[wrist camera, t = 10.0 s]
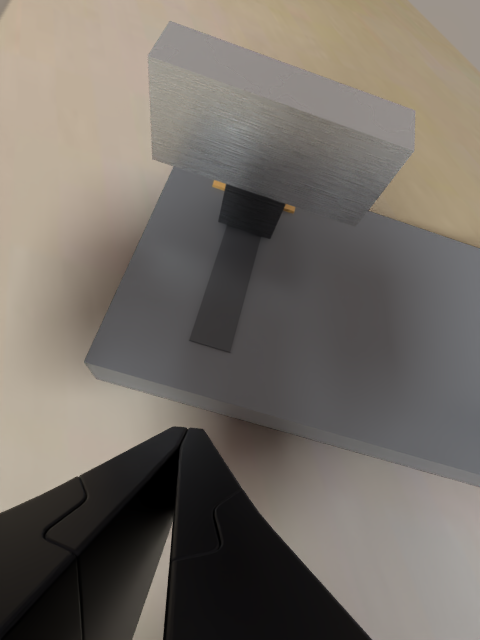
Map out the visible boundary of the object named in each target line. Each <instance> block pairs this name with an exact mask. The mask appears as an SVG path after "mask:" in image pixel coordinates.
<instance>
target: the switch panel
mask: <svg viewBox="0 0 480 640" xmlns="http://www.w3.org/2000/svg"><path fill="white" fill-rule="evenodd" d="M225 186H226V184H225V183H222V182H219V181H216V180H213V179H210V178H207V177H204V176H201V175H198V174H195V173H192V172H189V171H186V170H183V169H180V168H177V167H173V169H172V171H171V174H170V176H169V178H168V180H167V182H166V184H165V187H164V189H163V191H162V193H161V195H160V197H159V200H158V202H157V204H156V206H155V208H154V210H153V213H152V215H151V217H150V219H149V221H148V224H147V226H146V228H145V230H144V232H143V234H142V237H141V239H140V241H139V243H138V245H137V247H136V250H135V252H134V254H133V256H132V258H131V261H130V263H129V265H128V267H127V269H126V271H125V274H124V276H123V278H122V280H121V282H120V284H119V287H118V289H117V291H116V293H115V295H114V298H113V300H112V302H111V304H110V306H109V308H108V311H107V313H106V315H105V317H104V319H103V321H102V324H101V326H100V328H99V330H98V332H97V335H96V337H95V339H94V341H93V343H92V345H91V348H90V350H89V352H88V354H87V356H86V358H85V361H84V363H85V364H86V366H87V367H88V368H89V370H90V371H91V372H92V374H93V375H94V376H95V378H96V379H99V380H102V381H106V382H109V383H113V384H116V385H120V386H123V387H127V388H130V389H134V390H138V391H141V392H145V393H148V394H152V395H155V396H159V397H162V398H166V399H169V400H173V401H177V402H180V403H184V404H187V405H191V406H194V407H198V408H201V409H205V410H208V411H212V412H216V413H219V414H223V415H226V416H230V417H233V418H237V419H240V420H244V421H247V422H251V423H255V424H258V425H262V426H265V427H269V428H272V429H276V430H279V431H283V432H286V433H290V434H293V435H297V436H301V437H304V438H308V439H311V440H315V441H318V442H322V443H325V444H329V445H332V446H336V447H340V448H343V449H347V450H350V451H354V452H357V453H361V454H364V455H368V456H371V457H375V458H379V459H382V460H386V461H389V462H393V463H396V464H400V465H403V466H407V467H410V468H414V469H418V470H421V471H425V472H428V473H432V474H435V475H439V476H442V477H446V478H449V479H453V480H457V481H460V482H464V483H467V484H471V485H474V486H478V487H480V248H477V247H474V246H471V245H468V244H465V243H462V242H459V241H456V240H453V239H450V238H447V237H444V236H441V235H438V234H435V233H432V232H429V231H426V230H424V229H421V228H418V227H415V226H412V225H409V224H406V223H403V222H400V221H397V220H394V219H391V218H388V217H385V216H382V215H379V214H376V213H373V212H370V211H367V213H366V214H365V215H364V217H363V218H362V219H361V221H360V222H359V223H358V224H357V226H356V227H354V226H351V225H348V224H345V223H342V222H339V221H336V220H333V219H330V218H327V217H324V216H321V215H318V214H315V213H312V212H309V211H306V210H303V209H300V208H297V207H294V206H291V205H288V204H286V205H285V207H284V209H283V212H282V214H281V216H280V218H279V221H278V223H277V225H276V227H275V230H274V232H273V234H272V236H271V238H270V239H268V238H265V237H262V236H259V235H256V234H253V233H250V232H247V231H244V230H241V229H238V228H234V227H231V226H228V225H225V224H222V223H219V222H218V220H219V215H220V210H221V205H222V201H223V196H224V191H225Z"/></svg>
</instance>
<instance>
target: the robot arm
mask: <svg viewBox="0 0 480 640" xmlns="http://www.w3.org/2000/svg"><path fill="white" fill-rule="evenodd" d="M172 522H173V528H172V540H171V552H170V564H169V575H168V587H167V599H166V611H165V623H164V635H163V640H372V639H371V638H370V637H369V636H368V635H367V633H366V632H365V631H364V630H363V629H362V628H361V627H360V626H359V624H358V623H357V622H356V621H355V620H354V619H353V618H352V617H351V616H350V614H349V613H348V612H347V611H346V610H345V609H344V608H343V607H342V606H341V604H340V603H339V602H338V601H337V600H336V599H335V598H334V597H333V595H332V594H331V593H330V592H329V591H328V590H327V589H326V588H325V587H324V585H323V584H322V583H321V582H320V581H319V580H318V579H317V578H316V577H315V575H314V574H313V573H312V572H311V571H310V570H309V569H308V568H307V566H306V565H305V564H304V563H303V562H302V561H301V560H300V559H299V558H298V556H297V555H296V554H295V553H294V552H293V551H292V550H291V549H290V548H289V546H288V545H287V544H286V543H285V542H284V541H283V540H282V539H281V537H280V536H279V535H278V534H277V533H276V532H275V531H274V530H273V529H272V527H271V526H270V525H269V524H268V523H267V521H266V520H265V519H264V518H263V517H262V515H261V514H260V513H259V512H258V510H257V509H256V507H255V506H254V505H253V503H252V502H251V500H250V499H249V498H248V496H247V494H246V493H245V491H244V490H243V489H242V488H241V486H240V485H239V483H238V481H237V480H236V478H235V477H234V475H233V474H232V472H231V471H230V469H229V468H228V466H227V465H226V463H225V462H224V460H223V458H222V457H221V455H220V454H219V452H218V451H217V449H216V448H215V446H214V445H213V443H212V442H211V440H210V438H209V437H208V435H207V434H206V432H205V431H204V430H203V429H198V428H189V429H187V428H185V427H171V428H169V429H167V430H165V431H164V432H162V433H160V434H158V435H156V436H154V437H152V438H150V439H148V440H146V441H145V442H143V443H141V444H139V445H137V446H135V447H133V448H131V449H129V450H128V451H126V452H124V453H122V454H120V455H118V456H116V457H114V458H112V459H110V460H109V461H107V462H105V463H103V464H101V465H99V466H97V467H95V468H93V469H91V470H90V471H88V472H86V473H84V474H82V475H80V476H79V477H75V478H73V479H71V480H69V481H67V482H66V483H64V484H62V485H60V486H58V487H56V488H54V489H52V490H50V491H48V492H46V493H44V494H42V495H40V496H37V497H35V498H33V499H31V500H29V501H26V502H24V503H22V504H20V505H17V506H15V507H13V508H11V509H8V510H6V511H4V512H2V513H0V640H132V638H133V635H134V632H135V629H136V627H137V624H138V621H139V618H140V615H141V612H142V609H143V606H144V603H145V600H146V598H147V595H148V592H149V589H150V586H151V583H152V580H153V577H154V574H155V572H156V569H157V566H158V563H159V560H160V557H161V554H162V551H163V548H164V545H165V543H166V540H167V537H168V534H169V531H170V528H171V525H172Z"/></svg>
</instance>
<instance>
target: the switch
mask: <svg viewBox="0 0 480 640" xmlns="http://www.w3.org/2000/svg"><path fill="white" fill-rule="evenodd" d="M148 75H149V97H150V119H151V142H152V159H153V160H156V161H159V162H162V163H165V164H168V165H171V166H174V167H177V168H180V169H183V170H186V171H189V172H192V173H195V174H198V175H201V176H204V177H207V178H210V179H213V180H216V181H219V182H222V183H225V184H226V186H225V191H224V196H223V201H222V205H221V210H220V215H219V220H218V222H219V223H222V224H225V225H228V226H231V227H234V228H238V229H241V230H244V231H247V232H250V233H253V234H256V235H259V236H262V237H265V238H268V239H270V238H271V236H272V234H273V232H274V230H275V227H276V225H277V223H278V221H279V218H280V216H281V214H282V212H283V209H284V207H285V205H286V204H288V205H291V206H294V207H297V208H300V209H303V210H306V211H309V212H312V213H315V214H318V215H321V216H324V217H327V218H330V219H333V220H336V221H339V222H342V223H345V224H348V225H351V226H354V227H356V226H357V224H358V223H359V222H360V221H361V219H362V218H363V217H364V215H365V214H366V213H367V211H368V210H369V209H370V208H371V206H372V205H373V204H374V202H375V201H376V200H377V199H378V197H379V196H380V195H381V193H382V192H383V191H384V189H385V188H386V187H387V186H388V184H389V183H390V182H391V180H392V179H393V178H394V176H395V175H396V174H397V173H398V171H399V170H400V169H401V167H402V166H403V165H404V163H405V162H406V161H407V160H408V158H409V157H410V156H411V154H412V153H413V152H414V141H415V110H413V109H410V108H407V107H404V106H402V105H399V104H396V103H393V102H391V101H388V100H385V99H383V98H380V97H377V96H374V95H372V94H369V93H366V92H363V91H361V90H358V89H355V88H352V87H350V86H347V85H344V84H342V83H339V82H336V81H333V80H331V79H328V78H325V77H322V76H320V75H317V74H314V73H311V72H309V71H306V70H303V69H300V68H298V67H295V66H292V65H290V64H287V63H284V62H281V61H279V60H276V59H273V58H270V57H268V56H265V55H262V54H259V53H257V52H254V51H251V50H249V49H246V48H243V47H240V46H238V45H235V44H232V43H229V42H227V41H224V40H221V39H218V38H216V37H213V36H210V35H207V34H205V33H202V32H199V31H197V30H194V29H191V28H188V27H186V26H183V25H180V24H177V23H175V22H172V21H169V23H168V25H167V26H166V28H165V29H164V31H163V32H162V34H161V36H160V37H159V39H158V40H157V42H156V43H155V45H154V47H153V48H152V50H151V51H150V53H149V55H148Z"/></svg>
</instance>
